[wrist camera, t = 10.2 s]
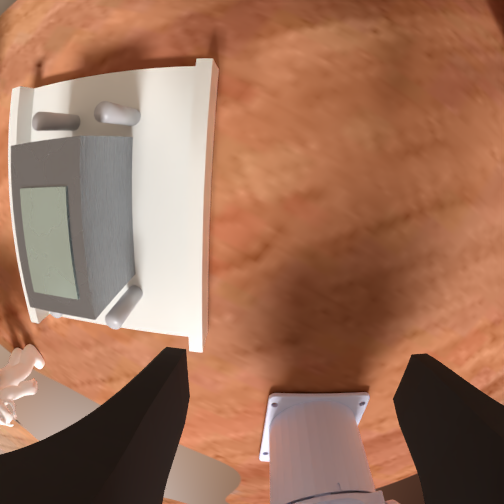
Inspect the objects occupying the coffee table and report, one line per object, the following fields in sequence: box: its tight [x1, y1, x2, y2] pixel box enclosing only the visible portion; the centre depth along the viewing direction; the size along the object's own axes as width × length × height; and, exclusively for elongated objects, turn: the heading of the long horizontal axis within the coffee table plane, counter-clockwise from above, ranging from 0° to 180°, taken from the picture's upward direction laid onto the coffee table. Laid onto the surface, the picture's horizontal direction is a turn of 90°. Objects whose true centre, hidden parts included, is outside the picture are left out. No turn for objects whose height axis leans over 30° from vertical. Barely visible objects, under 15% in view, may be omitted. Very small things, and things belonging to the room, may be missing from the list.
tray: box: [8, 58, 219, 352], centre depth 15 cm, size 16×13×4 cm
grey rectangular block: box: [11, 136, 136, 320], centre depth 14 cm, size 8×4×6 cm, turn 176°
